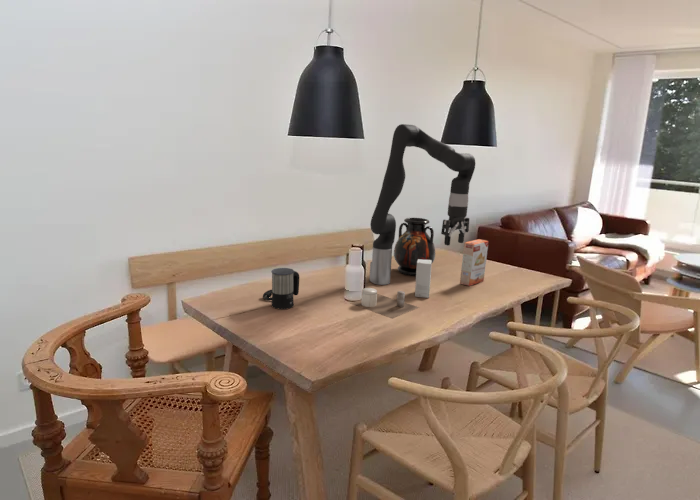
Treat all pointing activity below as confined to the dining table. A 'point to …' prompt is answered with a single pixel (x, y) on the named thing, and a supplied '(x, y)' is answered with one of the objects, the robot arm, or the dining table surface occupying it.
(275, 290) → the milk frother
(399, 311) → the post board
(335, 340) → the dining table surface
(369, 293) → the cap
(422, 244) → the amphora vase
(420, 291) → the skincare box
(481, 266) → the cracker box
